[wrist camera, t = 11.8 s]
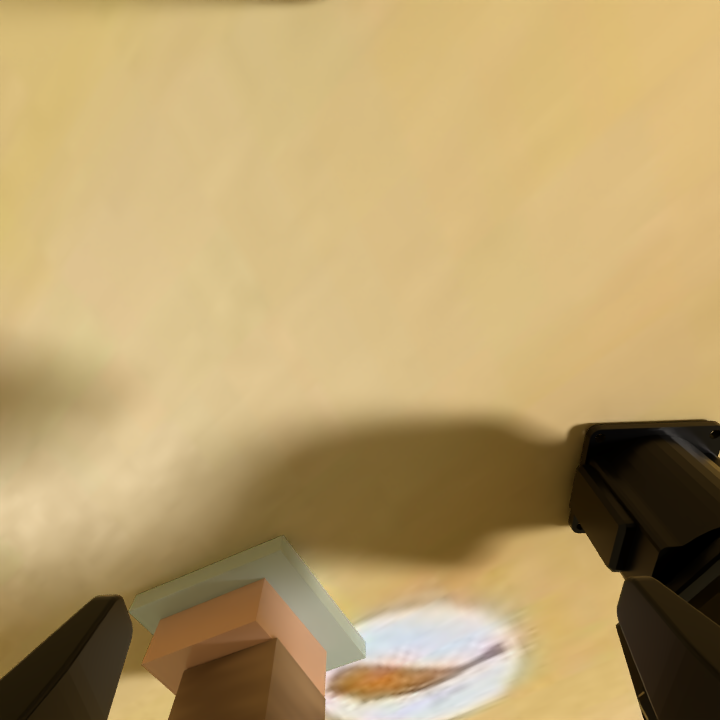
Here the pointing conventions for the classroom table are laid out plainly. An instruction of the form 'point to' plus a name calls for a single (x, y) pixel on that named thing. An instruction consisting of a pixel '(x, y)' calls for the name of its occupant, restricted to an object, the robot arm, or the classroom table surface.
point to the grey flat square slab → (282, 574)
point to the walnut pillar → (249, 688)
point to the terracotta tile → (231, 634)
